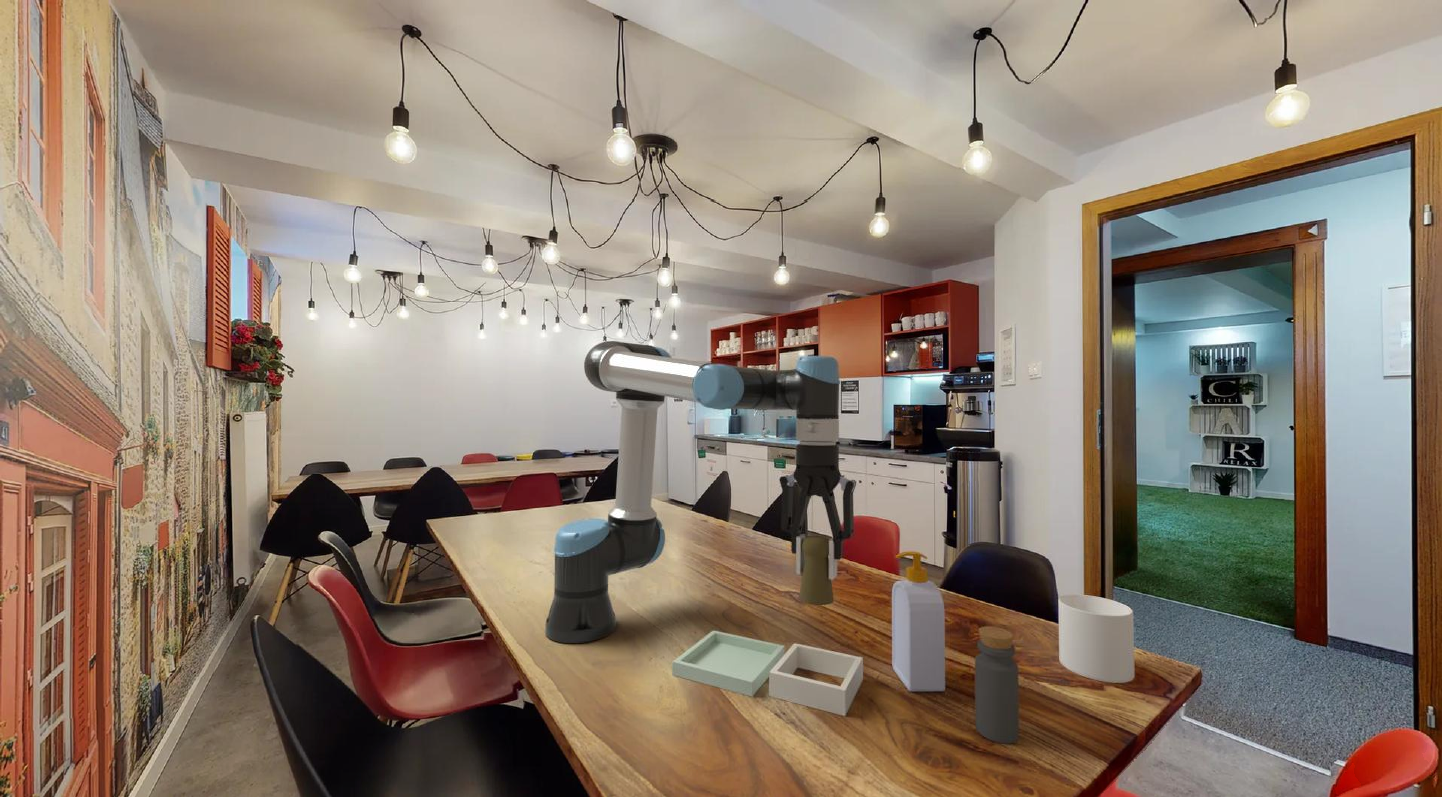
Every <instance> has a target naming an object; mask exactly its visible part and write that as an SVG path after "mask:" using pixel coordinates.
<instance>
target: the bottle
mask: <svg viewBox="0 0 1442 797" xmlns="http://www.w3.org/2000/svg"><path fill="white" fill-rule="evenodd" d="M978 633H979V634H978V635H979V639H978V640H977V649H978V650H979V651H980V652H981V653H979V654H976V656H975V657H974V696H975V697H974V700H975V704H974V706H975V711H974V712H975V728H976V731H977V732H978V733H979V734H980V735H981V736H982V737H984V738H986V739H987V740H990V741H993V742H995V743H999V744H1007V745H1009V744H1014V743H1016V742H1018V740H1019V737H1020V725H1019V724H1020V718H1019V716H1020V714H1019V713H1020V711H1019V707H1020V706H1019V705H1020V704H1019V699H1020V698H1019V666H1018V664H1017V663H1016V661H1015V660H1014V659H1012V657H1014V656H1015V655H1016V647H1015V645H1013V641H1014V633H1013V632H1011V631H1009V630H1007V629H1005V628H1002V627H998V626H987V625H986V626H981V627H979V628H978Z"/></svg>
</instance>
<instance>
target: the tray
mask: <svg viewBox="0 0 1442 797" xmlns="http://www.w3.org/2000/svg"><path fill="white" fill-rule="evenodd" d="M785 649H786V646H785V645H784V644H778V643H774V642H769V641H763V640H760V639H754V638H750V637H747V636H746V637H745V636H741V635H737V634H733V633H727V632H721V631H718V630H714V629H713V630H712V631H711V632H709V633H708V634H706V635H705V636H704V637H703V638H701V639H700V640H699V641H697V642H696V643H695V644H693V645H692V646H690V648H689V649H687V650H686V651H685V652H683V653H682V654H681V655H679V656H678V657H677V658H675V659H674V660H673V661H671V662H672V665H671V666H672V671H671V672H672V673H671V674H672V676H675V677H678V678H682V679H686V680H689V681H693V682H696V683H699V684H700V683H701V684H705V685H708V686H711V687H715V688H718V689H724V690H727V691H731V692H734V693H738V694H741V695H745V696H749V697H753V696H754V695H755V694H756V693H757V691H758V690H759V689H761V687H762V686H763V685H764V683H765V682H766V681H767V680H768V679H769V672H770V671H771V670H772V668H773V667H774V666H775V665H776V664H777V663H778V661H779V660H780V659H781V658H782V657H783V656H784V655H785V653H786V652H785V651H786V650H785Z"/></svg>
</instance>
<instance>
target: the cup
mask: <svg viewBox="0 0 1442 797" xmlns="http://www.w3.org/2000/svg"><path fill="white" fill-rule="evenodd" d="M1134 626H1135V624H1134V611H1133V610H1132V608H1130V607H1129V606H1127V605H1125V604H1123V603H1121V602H1119V601H1116V600H1113V599H1109V598H1104V597H1100V596H1095V595H1087V594H1073V593H1072V594H1064V595H1062V596H1060V597H1059V598H1058V653H1059V654H1058V656H1059V663H1060V664H1061V665H1062V666H1063V667H1064V668H1066V669H1067V670H1068V671H1070V672H1073V673H1074V674H1076V675H1079V676H1081V677H1083V678H1087V679H1091V680H1094V681H1099V682H1102V683H1103V682H1104V683H1108V684H1109V683H1111V684H1124V683H1129V682H1132V681H1133V680H1134V679H1135V638H1134V637H1135V633H1134V630H1135V628H1134Z"/></svg>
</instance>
